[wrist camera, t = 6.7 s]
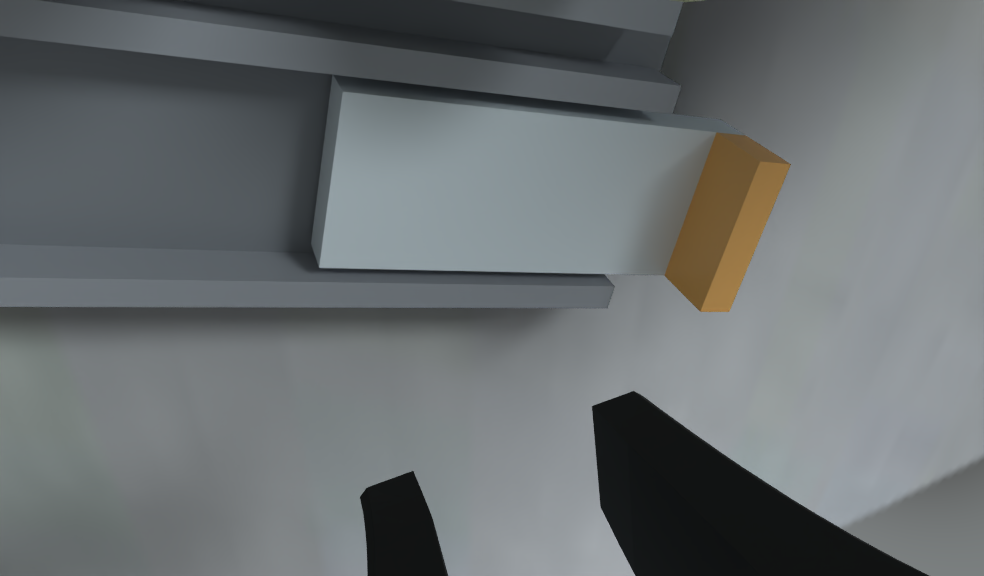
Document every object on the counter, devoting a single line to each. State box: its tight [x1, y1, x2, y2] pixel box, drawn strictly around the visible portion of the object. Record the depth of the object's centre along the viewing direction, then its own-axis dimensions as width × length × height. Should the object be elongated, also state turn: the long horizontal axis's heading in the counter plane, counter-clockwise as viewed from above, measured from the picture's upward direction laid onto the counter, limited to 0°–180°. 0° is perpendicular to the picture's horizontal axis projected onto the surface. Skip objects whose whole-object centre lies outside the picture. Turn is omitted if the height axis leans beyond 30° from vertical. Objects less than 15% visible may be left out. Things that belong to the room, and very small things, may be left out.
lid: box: [311, 75, 791, 312], centre depth 17 cm, size 9×4×3 cm, turn 78°
